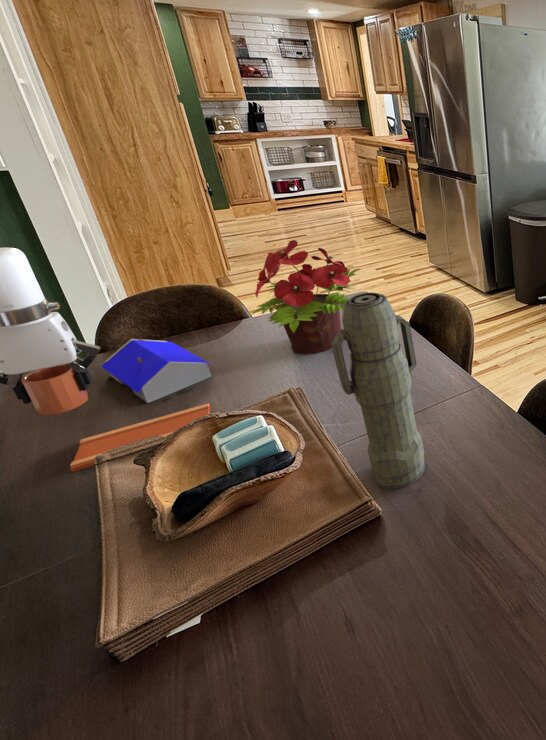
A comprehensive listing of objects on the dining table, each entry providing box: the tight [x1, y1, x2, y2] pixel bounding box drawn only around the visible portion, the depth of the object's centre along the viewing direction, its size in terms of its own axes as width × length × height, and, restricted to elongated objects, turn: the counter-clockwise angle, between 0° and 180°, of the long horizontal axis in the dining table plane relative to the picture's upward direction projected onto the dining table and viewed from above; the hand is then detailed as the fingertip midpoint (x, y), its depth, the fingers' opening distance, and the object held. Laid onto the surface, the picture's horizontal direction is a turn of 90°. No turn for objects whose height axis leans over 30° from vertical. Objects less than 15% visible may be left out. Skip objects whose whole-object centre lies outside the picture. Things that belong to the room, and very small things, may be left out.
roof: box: [100, 338, 213, 404], centre depth 114 cm, size 22×14×7 cm, turn 60°
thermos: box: [331, 292, 426, 490], centre depth 80 cm, size 9×12×35 cm
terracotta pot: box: [21, 365, 90, 416], centre depth 95 cm, size 7×7×8 cm
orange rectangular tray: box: [69, 402, 211, 473], centre depth 96 cm, size 20×10×1 cm, turn 126°
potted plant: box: [250, 239, 363, 355], centre depth 124 cm, size 30×27×30 cm
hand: (58, 393), depth 95 cm, fingers closed on terracotta pot, 7 cm apart
